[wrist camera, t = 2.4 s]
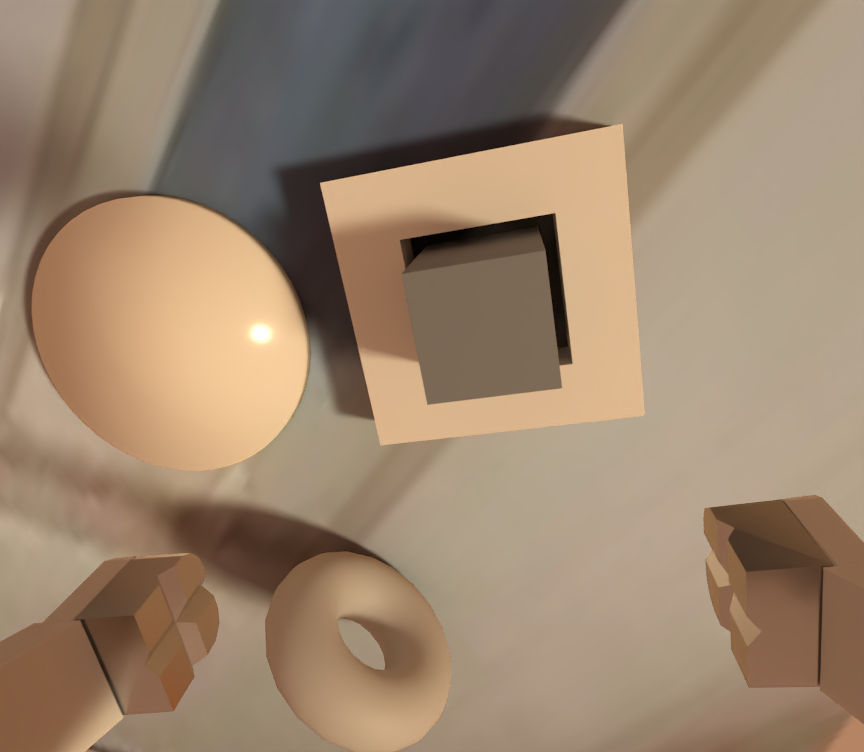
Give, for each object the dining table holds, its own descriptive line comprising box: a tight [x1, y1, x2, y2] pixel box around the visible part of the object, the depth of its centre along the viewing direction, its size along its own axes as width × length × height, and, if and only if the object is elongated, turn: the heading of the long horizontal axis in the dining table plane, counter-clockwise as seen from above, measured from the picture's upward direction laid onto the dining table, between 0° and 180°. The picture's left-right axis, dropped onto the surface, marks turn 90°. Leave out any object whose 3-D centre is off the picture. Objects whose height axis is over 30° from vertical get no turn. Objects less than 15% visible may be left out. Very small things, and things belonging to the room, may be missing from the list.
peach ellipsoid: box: [32, 195, 311, 471], centre depth 31 cm, size 14×14×1 cm
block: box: [401, 226, 562, 405], centre depth 25 cm, size 5×5×7 cm
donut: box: [265, 551, 451, 752], centre depth 30 cm, size 10×4×10 cm, turn 54°
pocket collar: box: [320, 124, 645, 445], centre depth 27 cm, size 12×12×2 cm
